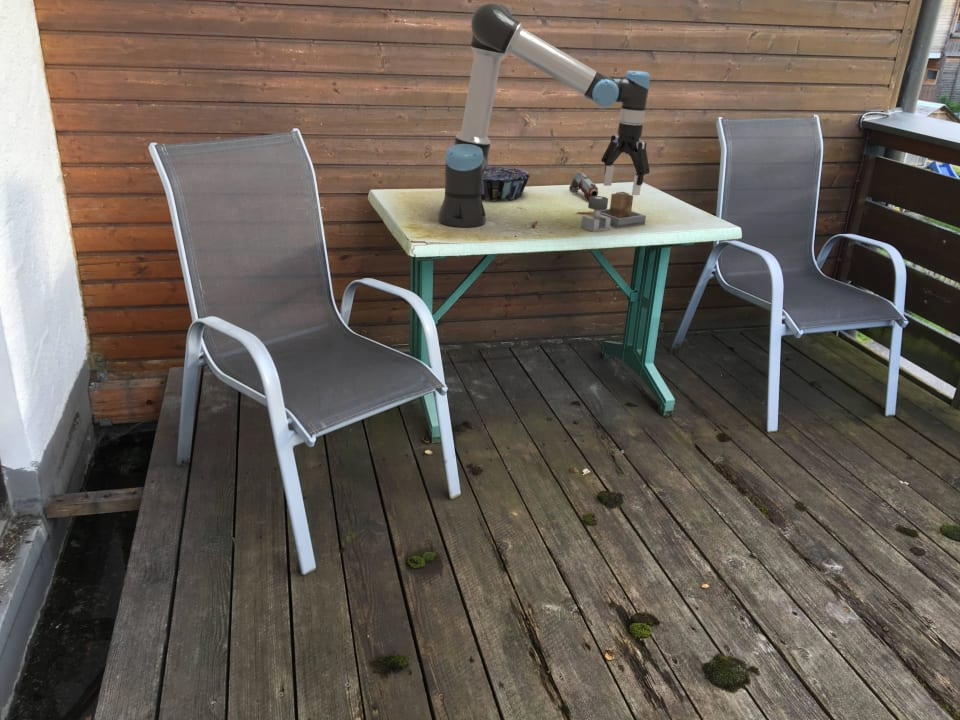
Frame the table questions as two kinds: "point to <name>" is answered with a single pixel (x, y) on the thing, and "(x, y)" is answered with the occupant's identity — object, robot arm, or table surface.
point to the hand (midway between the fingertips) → (621, 190)
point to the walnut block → (621, 205)
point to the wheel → (597, 204)
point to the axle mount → (596, 223)
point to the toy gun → (583, 185)
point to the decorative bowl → (503, 183)
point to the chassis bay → (625, 219)
